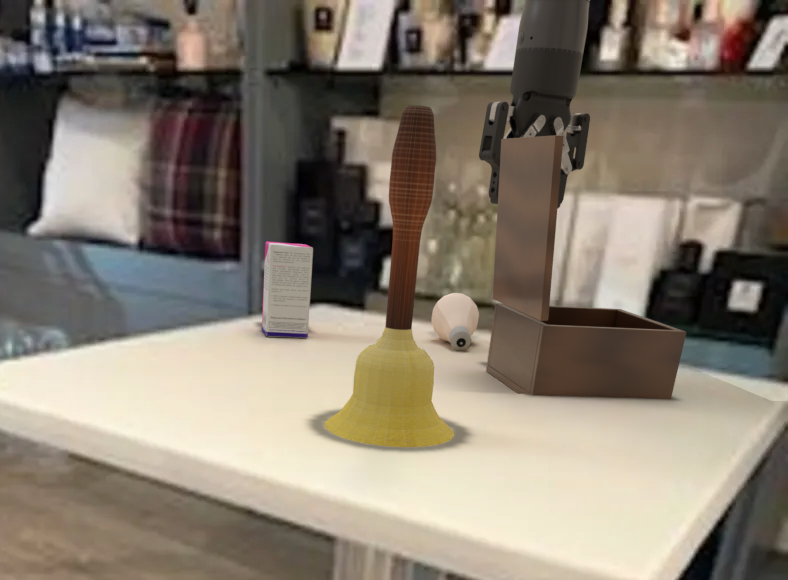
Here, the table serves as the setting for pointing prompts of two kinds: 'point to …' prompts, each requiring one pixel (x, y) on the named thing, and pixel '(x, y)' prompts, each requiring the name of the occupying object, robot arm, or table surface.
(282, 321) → the supplement box
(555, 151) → the lid
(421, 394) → the handbell
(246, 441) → the table surface
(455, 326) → the light bulb
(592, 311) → the brown open box
